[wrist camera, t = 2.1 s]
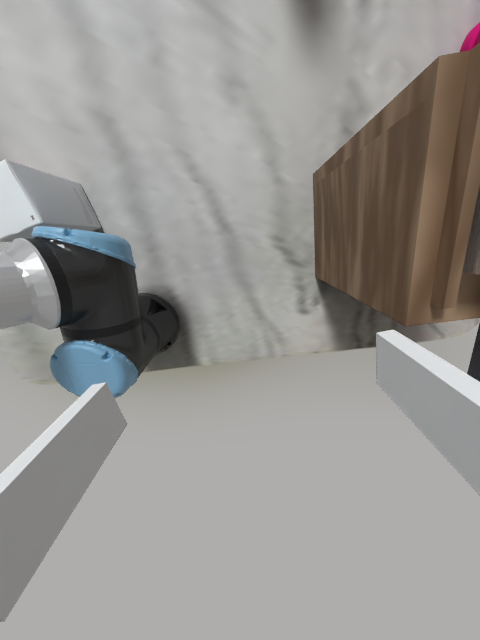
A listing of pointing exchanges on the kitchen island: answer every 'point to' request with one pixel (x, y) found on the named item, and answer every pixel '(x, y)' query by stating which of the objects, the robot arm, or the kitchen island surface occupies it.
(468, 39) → the pepper mill
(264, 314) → the kitchen island surface
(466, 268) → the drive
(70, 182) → the supplement box
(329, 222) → the stand
